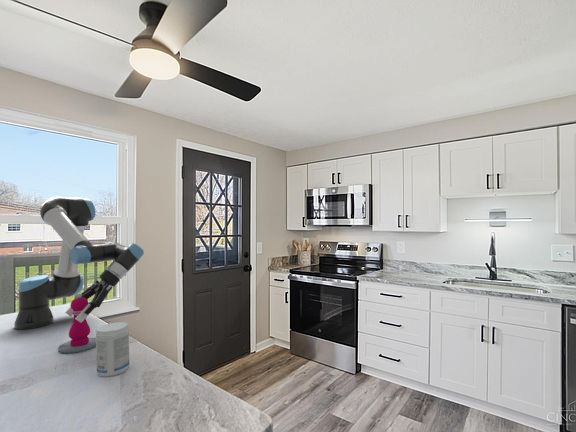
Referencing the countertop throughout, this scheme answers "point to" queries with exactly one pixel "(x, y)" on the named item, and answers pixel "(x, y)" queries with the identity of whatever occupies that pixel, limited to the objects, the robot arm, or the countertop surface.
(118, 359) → the supplement tub
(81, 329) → the pepper mill
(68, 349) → the saucer
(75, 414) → the countertop surface
